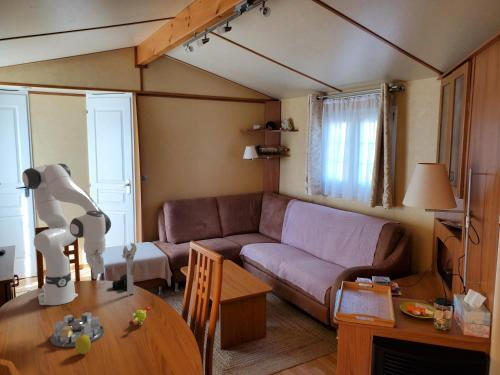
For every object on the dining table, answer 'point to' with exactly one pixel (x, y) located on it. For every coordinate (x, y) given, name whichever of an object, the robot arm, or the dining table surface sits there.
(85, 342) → the lemon
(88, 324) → the cube bead bracelet
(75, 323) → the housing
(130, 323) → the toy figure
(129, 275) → the wrench
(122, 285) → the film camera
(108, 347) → the dining table surface
